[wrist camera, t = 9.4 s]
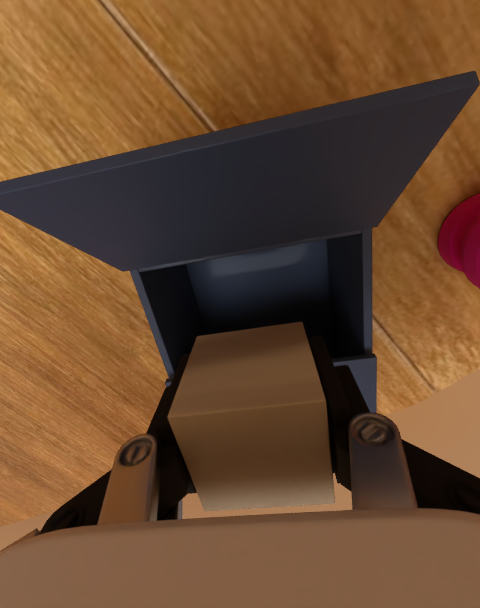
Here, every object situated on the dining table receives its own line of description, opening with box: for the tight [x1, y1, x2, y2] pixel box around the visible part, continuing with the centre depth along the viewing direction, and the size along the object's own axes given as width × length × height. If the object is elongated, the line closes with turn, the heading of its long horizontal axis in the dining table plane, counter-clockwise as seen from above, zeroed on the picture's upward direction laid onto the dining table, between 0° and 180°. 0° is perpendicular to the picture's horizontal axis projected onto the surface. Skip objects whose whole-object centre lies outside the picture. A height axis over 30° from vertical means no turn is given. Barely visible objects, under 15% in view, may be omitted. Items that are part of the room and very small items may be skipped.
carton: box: [130, 228, 377, 413], centre depth 22 cm, size 15×13×10 cm
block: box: [168, 322, 335, 511], centre depth 11 cm, size 4×4×4 cm
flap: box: [0, 71, 480, 272], centre depth 11 cm, size 7×13×1 cm
